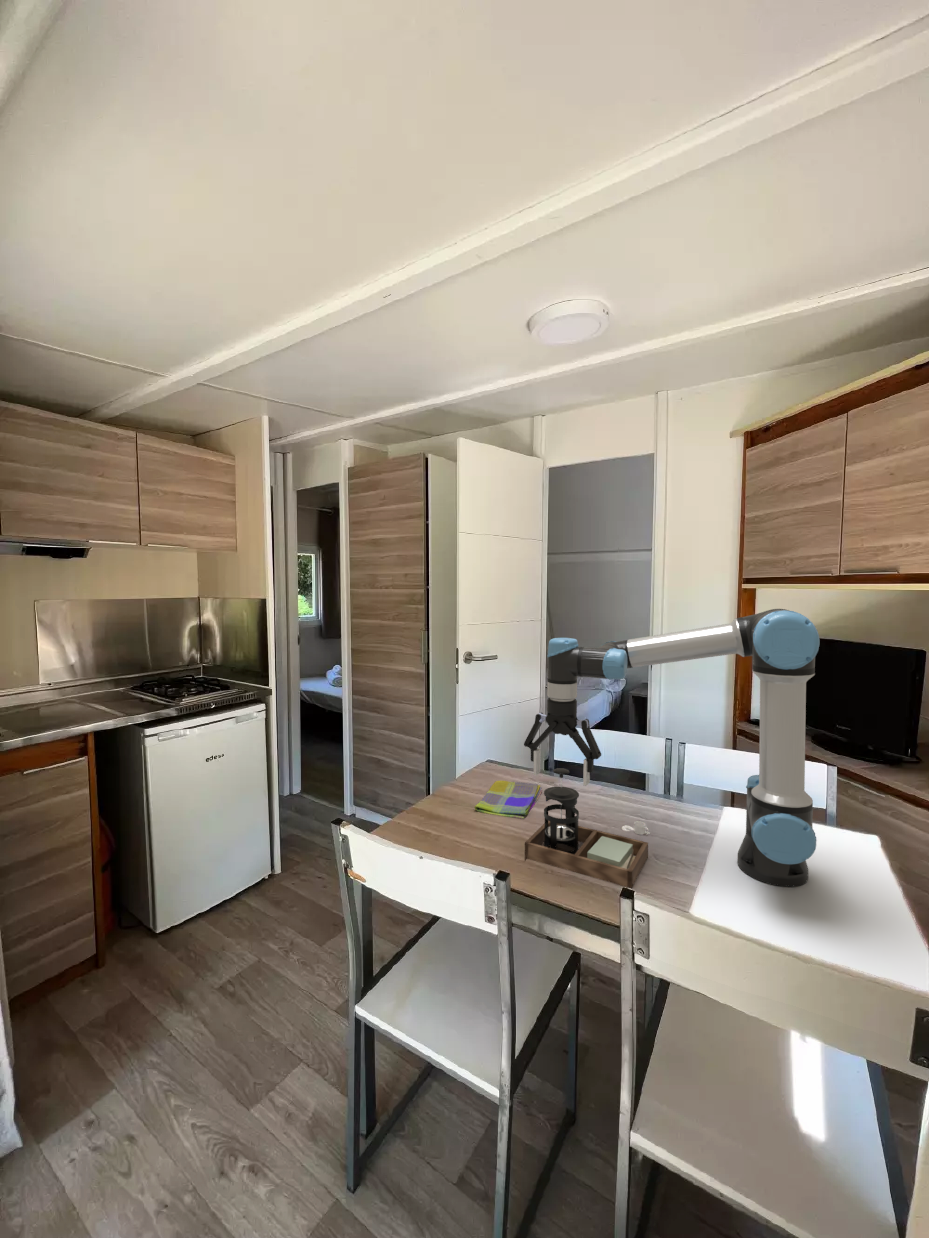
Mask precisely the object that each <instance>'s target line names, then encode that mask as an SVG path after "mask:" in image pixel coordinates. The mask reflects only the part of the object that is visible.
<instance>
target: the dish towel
mask: <svg viewBox="0 0 929 1238" xmlns="http://www.w3.org/2000/svg"><path fill="white" fill-rule="evenodd" d="M542 793H543V790H542V787H541V785H540V784H538V783H529V782H521V781H519V782H518V781H508V780H495V781H494V783H492V785H491V786H490V788H489V789H488V791H487V792H486V793H485V794H484V796H483V798H482V799H481V800H480V801H479V802H478V803H477V804H476V805H475V806H474V809H475V811H477V812H479V813H482V814H486V815H487V814H488V815H491V816H492V815H493V816H501V817H507V818H511V819H512V818H513V819H520V820H524V819H525V818H526V817H527V815H528V814H529V813H530V811H531V810H532V809H533V807H534V806H535V805H536V803H537V801H538V799H540V797H541V795H542Z"/></svg>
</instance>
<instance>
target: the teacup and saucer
mask: <svg viewBox="0 0 929 1238" xmlns="http://www.w3.org/2000/svg"><path fill="white" fill-rule="evenodd" d="M646 825H647V824H646V823H645V822H643V821H640V820H639V821H634V822H633V826H630V825H628V824H627V825H626V824H625V825H623V826H621V829H622V830H623V831H624V832H630V831H634V834H635V835H639V836H643V835H645V836H648V834H651V832H649V831H650V830H649V828H648V827H647V826H646ZM646 830H647V831H646Z"/></svg>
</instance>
